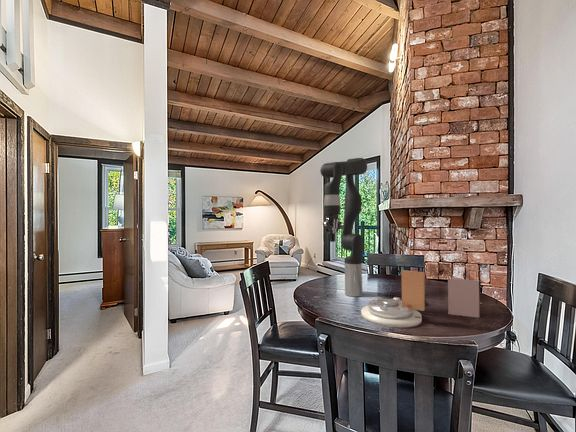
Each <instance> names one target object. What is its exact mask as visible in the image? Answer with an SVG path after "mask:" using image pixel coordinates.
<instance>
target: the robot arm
mask: <svg viewBox="0 0 576 432" xmlns="http://www.w3.org/2000/svg"><path fill="white" fill-rule="evenodd" d="M367 170H368V161H367V160H366V159H365V158H364V157H356V158H355V157H354V158H348V159H347V160H346V161H344V160H343V161H333V162H326V163H323V164H322V165H321V167H320V171H319V172H320V175H321V177H323V178H325V179H330V178H332V180H331V181H328V182H327V183H325V184H324V198H323V211H324V212H323V213H324V216H325V221H322V225H323V227H324V229H325V231H326V233H328V235H329V242H330V243H331V242H333V243H335V242H336V234H337V233H338V232H339V231H340V228H341V226H342V221H340V220H339V219H340V218H339V216H340V215H341V197H340V195H341V194H340V190H341V189H340V185H341V181H342V177H343V176H345V193H344V195H345V196H344V205H343V206H344V211H343V212H344V213H343V214H344V215H343V226H342V231H341V237H340V238H341V239H340V244H341V248H342V249H343V250H345V251H351V255H349V256H346V257H344V295H345V296H349V297H361V296H362V295H363V294H364V293H363V257H364V239H363V235H361V234H359V233H353V227H354V224H355V222H356V220H357V218H359V216H360V213H361V211H362V203H363V199H362V195H361V194H360V192H359V190H358V188H357V186H356V185H355V180H354V176H359V175H364V174H365V173H366V172H367Z"/></svg>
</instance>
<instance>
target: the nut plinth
mask: <svg viewBox="0 0 576 432" xmlns="http://www.w3.org/2000/svg"><path fill="white" fill-rule="evenodd" d="M360 310H361V311H360V312H361V313H360V315H361V318H362V319H363V320H365V321H366V322H368V323H371V324H374V325H377V326H381V327H387V328H393V329H394V328H395V329H396V328H399V329H400V328H401V329H402V328H412V327H417V326H418V325H420V324H422V322H423V321H422V314H421V313H420V312H419V310H415V309H414V315H413V316H412V317H410V318H405V319H389V318H383V317H379V316H376V315H373V314H371V313H370V312H369V310H368V305H365V306H363V307H362V308H361V309H360Z"/></svg>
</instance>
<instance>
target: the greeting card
mask: <svg viewBox="0 0 576 432" xmlns="http://www.w3.org/2000/svg"><path fill="white" fill-rule="evenodd" d="M447 296H448V299H447V301H448V303H447V306H448V307H447V308H448V309H447V310H448V312H447V313H448V315H450V314H451V315H453V316H460V315H461V316H462V317H468V318H470V317H471V318H477V319H478V318H480V281H477V280H471V279H465V278H460V277H455V276H454V277H453V276H451V279H447Z"/></svg>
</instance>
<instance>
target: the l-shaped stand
mask: <svg viewBox="0 0 576 432" xmlns="http://www.w3.org/2000/svg"><path fill="white" fill-rule="evenodd" d="M425 275H426V274H425V272H424V271H417V270H416V271H415V270H405V269H402V270H401V297H397V296H394V297H393V298H383V297H381V296H374V298H373V299H372V300H368V301H367V304H368V305H367V306H368V310H369V312H370V313H371V314H373V315H376V316H379V317H383V318H389V319H405V318H410V317H412V316H413V315H414V310H416V311H420V312H421V311H422V312H425V311H426V288H425V287H426V285H425V284H426V283H425V281H426V279H425Z"/></svg>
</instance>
